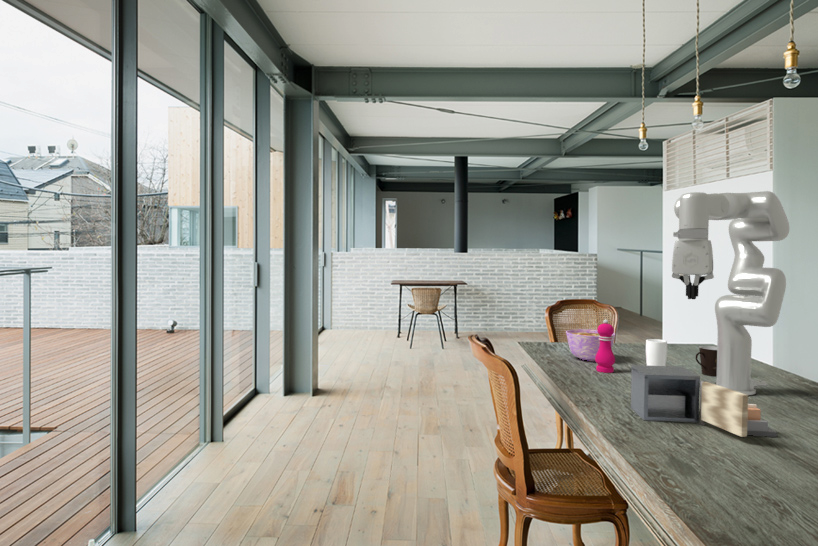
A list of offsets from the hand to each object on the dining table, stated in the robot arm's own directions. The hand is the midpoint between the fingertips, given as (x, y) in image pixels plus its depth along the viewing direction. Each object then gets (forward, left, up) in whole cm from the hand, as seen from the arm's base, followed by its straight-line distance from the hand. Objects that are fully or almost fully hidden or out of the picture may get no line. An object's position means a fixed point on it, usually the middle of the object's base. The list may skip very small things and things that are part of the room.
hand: (691, 298), depth 151 cm
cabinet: (+10, +8, -32) cm, 34 cm away
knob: (-7, +19, -30) cm, 37 cm away
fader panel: (-7, +14, -32) cm, 36 cm away
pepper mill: (+13, -46, -32) cm, 58 cm away
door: (+1, +22, -32) cm, 39 cm away
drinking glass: (0, -29, -32) cm, 43 cm away
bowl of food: (+14, -68, -32) cm, 77 cm away
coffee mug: (-24, -46, -32) cm, 61 cm away
